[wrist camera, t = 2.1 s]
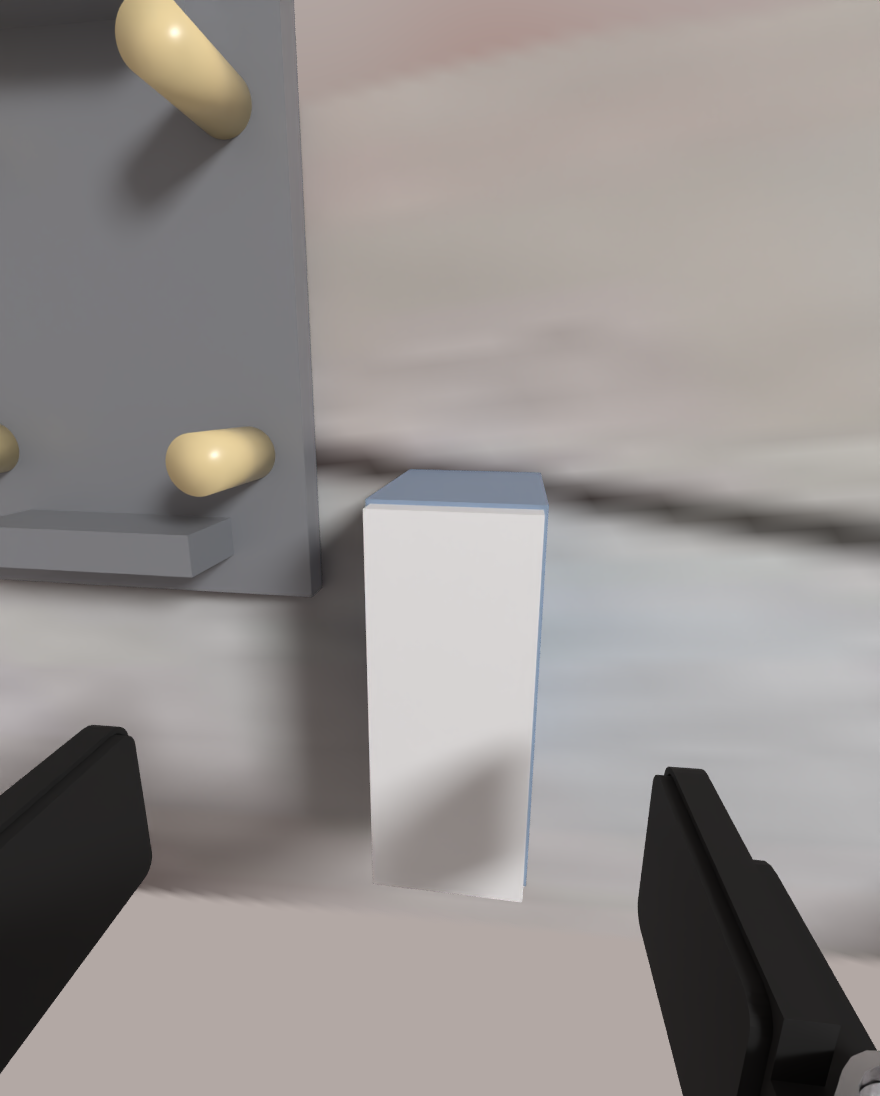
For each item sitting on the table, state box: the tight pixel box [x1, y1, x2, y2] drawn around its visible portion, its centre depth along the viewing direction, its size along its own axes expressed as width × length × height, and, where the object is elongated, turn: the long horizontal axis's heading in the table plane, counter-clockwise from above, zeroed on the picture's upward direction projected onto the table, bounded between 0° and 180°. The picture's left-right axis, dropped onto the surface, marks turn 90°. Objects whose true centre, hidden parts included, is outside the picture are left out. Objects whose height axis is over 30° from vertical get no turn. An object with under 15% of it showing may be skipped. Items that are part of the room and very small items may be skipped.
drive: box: [363, 469, 549, 902], centre depth 16 cm, size 4×10×6 cm, turn 179°
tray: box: [0, 0, 322, 597], centre depth 16 cm, size 12×18×4 cm, turn 179°
